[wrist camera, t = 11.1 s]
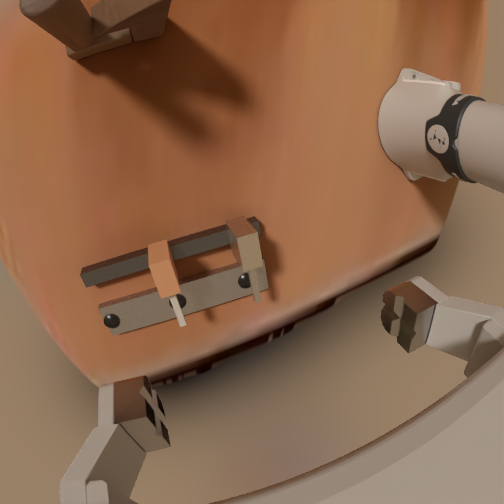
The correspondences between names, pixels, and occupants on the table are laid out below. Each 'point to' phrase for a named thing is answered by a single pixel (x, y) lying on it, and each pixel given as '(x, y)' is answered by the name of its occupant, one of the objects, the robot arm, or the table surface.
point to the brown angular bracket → (98, 22)
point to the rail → (191, 252)
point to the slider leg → (165, 275)
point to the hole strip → (180, 298)
